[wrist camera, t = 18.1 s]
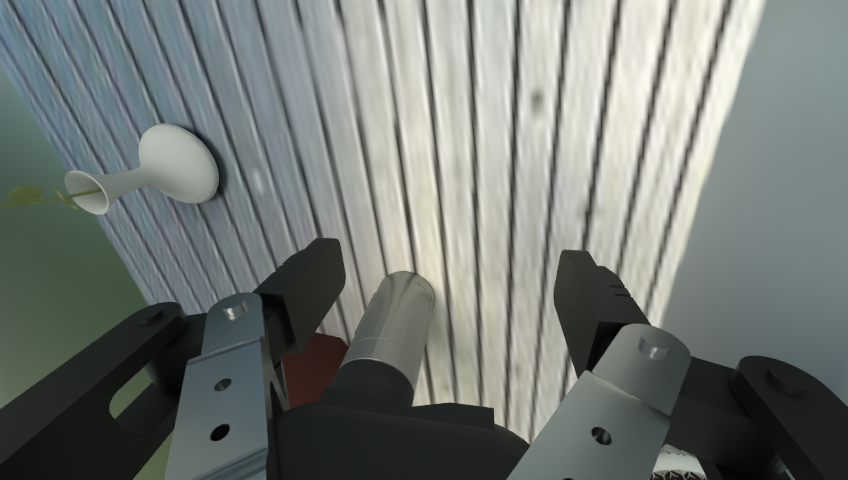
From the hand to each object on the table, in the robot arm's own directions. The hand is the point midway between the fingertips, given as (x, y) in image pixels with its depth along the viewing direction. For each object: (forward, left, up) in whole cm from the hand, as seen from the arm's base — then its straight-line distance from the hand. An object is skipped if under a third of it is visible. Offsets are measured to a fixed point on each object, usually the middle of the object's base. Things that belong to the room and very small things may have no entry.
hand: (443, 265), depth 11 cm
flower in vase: (-36, +21, -30) cm, 52 cm away
